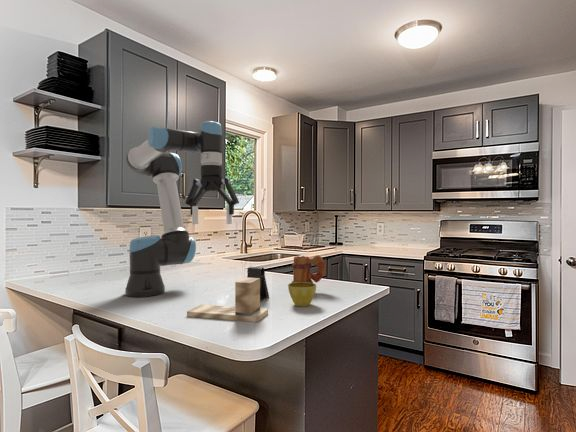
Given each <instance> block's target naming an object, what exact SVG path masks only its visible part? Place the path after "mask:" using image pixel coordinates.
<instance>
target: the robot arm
mask: <svg viewBox="0 0 576 432" xmlns="http://www.w3.org/2000/svg"><path fill="white" fill-rule="evenodd" d="M169 151H176V152H177V151H179V152H186V153H187V152H188V153H189V154H192V155H200V164H201V166H200V176H201V178H200V179H198V178H193V180H192V186H191V188H190V190H189V193H188V196H187V198H186V200H185V205H188V206H189V208H190V215H191V217H192V218H191V219H192V225H198V224H199V206H198V203H199V202H200V201H201V199H202V198H203V196H204V195H205V194H206V193H207V192H218V193H219V194H220V196H221V197H222V198H223V200H224V201H225V202H226V203H227V205H226V206H225V207H226V209H225V210H226V217H225V218H226V224H227V225H232V224H233V219H232V218H233V215H234V214H235V205H238V204H239V203H240V201H239V198H238V197H237V195H236V192H235V191H234V188H233V186H232V184H231V182H232V181H231V179H230V178H229V177H224V178H223V177H222V176H223V167H222V165H223V155H222V154H223V153H222V152H223V133H222V125H221V123H219V122H217V121H212V120H205V121H201V123H200V127H199V131H197V132H196V131H195V132H194V131H190V130H189V131H187V130H181V129H174V128H168V127H163V126H151V127H149V131H148V133H147V139H146V140H145V141H143V143H141V144H140V145H139V146H135V147H133V148H131V149H130V150H129V151H128V152H127V154H126V156H125V162H126V164H127V167H128V168H129V169H130V170H131V171H132V172H133V173H135V174H137V175H139V176H146V177H151V178H152V182H153V183H154V184H156V187H157V193H158V200H159V206H160V214H161V220H162V221H161V222H162V226H163V233H162V234H161V236H160V235H156V234H154V235H146V236H141V237H140V236H139V237H136V238H133V239H131V240H130V242H129V250H128V253H129V278H128V280H127V284H126V287H125V292H124V294H125V296H126V295H127V297H130V296H131V297H132V298H143V297H152V296H157V295H160V294H161V295H163V294H164V293H165V292H166V286H165V283H164V281H163V276H162V275H161V267H164V266H173V265H184V264H188V263H189V264H190V263H191V262H192V261H193V260H194V259H195V255H196V252H197V250H196V249H197V245H196V240H195V237H193V236H190V234H189V231H188V230H187V229H185V226H184V220H183V214H182V208H181V202H180V196H179V191H178V184H177V181H178V180H179V179H180V177H181V176H182V174H183V173H182V172H183V169H182V168H183V164H182V160H181V158H180V156H179V155H178V154H177V153H174V152H169ZM200 185H201V187H200ZM222 185H224V186H225V188H226V190H227V192H226V191H225V190H224V188H223V186H222ZM199 187H200V188H199ZM227 193H228V194H227Z"/></svg>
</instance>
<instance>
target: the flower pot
mask: <svg viewBox="0 0 576 432" xmlns="http://www.w3.org/2000/svg"><path fill="white" fill-rule="evenodd" d="M287 287H288V293H289V296H290V298H291V300H292V302H293V304H294V306H297V307H308V306H310V304H311V303H312V302H313V299H314V297H315V294H316V291H317V284H316V283H314V282H313V283H308V282H294V283H291V282H290V283H288V284H287Z"/></svg>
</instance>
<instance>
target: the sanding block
mask: <svg viewBox="0 0 576 432" xmlns="http://www.w3.org/2000/svg"><path fill="white" fill-rule="evenodd" d="M234 285H235V287H234V288H235V289H234V290H235V291H234V293H235V294H234V295H235V297H234V298H235V299H234V307H235V315H244V316H251V315H253V314H254V313H255V312H257V311H258V310H259V309H261V301H260V278H247V277H243V278H242V279H239V280H236V281H235V283H234Z"/></svg>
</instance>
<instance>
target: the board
mask: <svg viewBox="0 0 576 432" xmlns="http://www.w3.org/2000/svg"><path fill="white" fill-rule="evenodd" d="M268 314H269V309H268V308H260V309H259V310H258V311H257V312H255V313H254V314H253V315H251V316H244V315H235V306H229V305H228V306H227V305H216V304H215V305H213V304H200V305H197V306H196V307H193V308H192V309H189V310H187V311H186V317H193V318H203V319H204V318H205V319H217V320H225V321H227V320H228V321H241V322H253V323H254V322H255V323H259V322H260V321H261V320H262V319H264V318H265V317H266V316H267V315H268Z"/></svg>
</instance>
